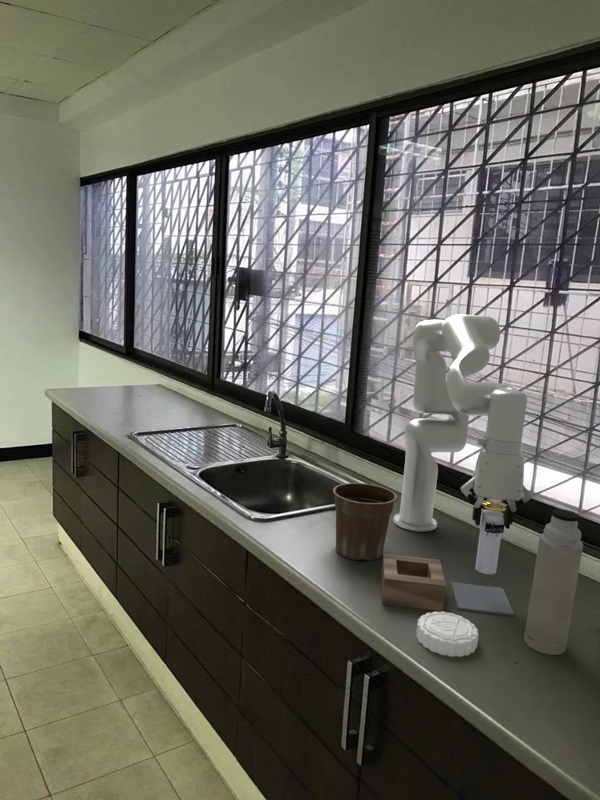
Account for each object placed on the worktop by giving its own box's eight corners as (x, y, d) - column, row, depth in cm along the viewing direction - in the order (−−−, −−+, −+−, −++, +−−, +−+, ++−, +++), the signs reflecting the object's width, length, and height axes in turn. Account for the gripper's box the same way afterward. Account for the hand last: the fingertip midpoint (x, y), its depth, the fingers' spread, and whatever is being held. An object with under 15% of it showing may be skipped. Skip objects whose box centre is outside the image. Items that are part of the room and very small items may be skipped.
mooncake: (421, 619, 138) (423, 603, 137) (479, 633, 134) (482, 617, 133) (410, 647, 127) (412, 631, 126) (473, 664, 123) (475, 647, 122)
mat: (451, 584, 154) (451, 582, 154) (502, 590, 153) (503, 588, 153) (457, 609, 143) (458, 607, 142) (513, 616, 142) (514, 613, 141)
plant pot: (345, 533, 180) (350, 478, 177) (400, 549, 172) (406, 491, 169) (316, 553, 166) (321, 492, 163) (374, 571, 158) (380, 508, 155)
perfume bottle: (468, 566, 149) (479, 483, 145) (493, 567, 149) (504, 484, 146) (476, 578, 143) (488, 491, 140) (502, 579, 144) (514, 492, 140)
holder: (380, 576, 155) (383, 553, 154) (436, 583, 154) (439, 559, 153) (382, 603, 142) (384, 578, 141) (442, 611, 141) (446, 585, 140)
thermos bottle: (518, 631, 135) (537, 504, 130) (555, 633, 135) (576, 506, 130) (532, 654, 127) (554, 518, 122) (572, 656, 128) (595, 521, 122)
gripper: (464, 446, 138) (454, 527, 142) (547, 454, 137) (535, 535, 140) (459, 438, 145) (450, 514, 149) (538, 445, 144) (527, 523, 147)
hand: (491, 524), depth 144 cm, fingers closed on perfume bottle, 5 cm apart
